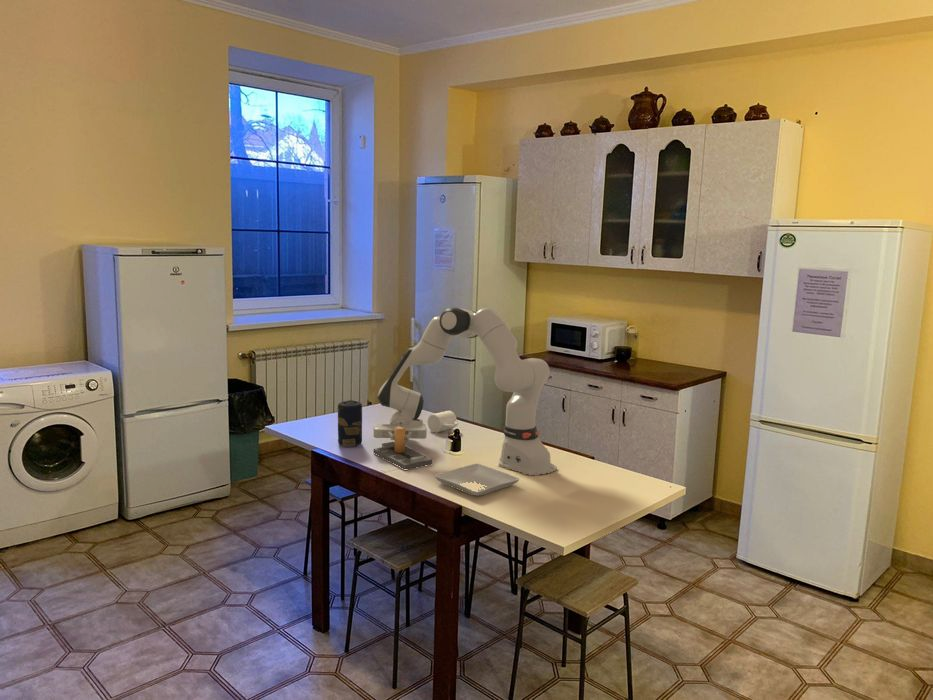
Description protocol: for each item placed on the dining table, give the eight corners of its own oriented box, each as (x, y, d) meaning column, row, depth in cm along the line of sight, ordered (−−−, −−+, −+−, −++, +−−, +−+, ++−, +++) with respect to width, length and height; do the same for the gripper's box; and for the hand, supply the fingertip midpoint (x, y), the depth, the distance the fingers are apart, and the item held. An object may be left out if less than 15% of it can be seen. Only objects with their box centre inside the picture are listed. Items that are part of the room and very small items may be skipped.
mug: (427, 430, 304) (427, 412, 303) (443, 426, 311) (444, 408, 310) (446, 437, 296) (447, 418, 294) (463, 432, 303) (464, 414, 302)
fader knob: (406, 451, 267) (407, 427, 265) (397, 453, 264) (398, 429, 263) (401, 448, 270) (401, 425, 268) (392, 450, 267) (392, 426, 266)
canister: (363, 447, 278) (363, 403, 275) (338, 448, 276) (338, 403, 273) (360, 440, 287) (361, 397, 284) (336, 441, 285) (336, 397, 282)
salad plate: (476, 470, 257) (476, 461, 256) (520, 487, 242) (521, 477, 242) (432, 484, 242) (432, 474, 242) (476, 502, 227) (477, 492, 227)
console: (432, 464, 261) (432, 455, 260) (404, 470, 254) (404, 461, 253) (400, 448, 278) (400, 440, 278) (373, 453, 271) (373, 445, 270)
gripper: (374, 419, 278) (371, 429, 264) (426, 419, 279) (426, 430, 265) (374, 434, 279) (371, 445, 265) (426, 435, 280) (426, 446, 267)
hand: (399, 437), depth 265 cm, fingers closed on fader knob, 4 cm apart
